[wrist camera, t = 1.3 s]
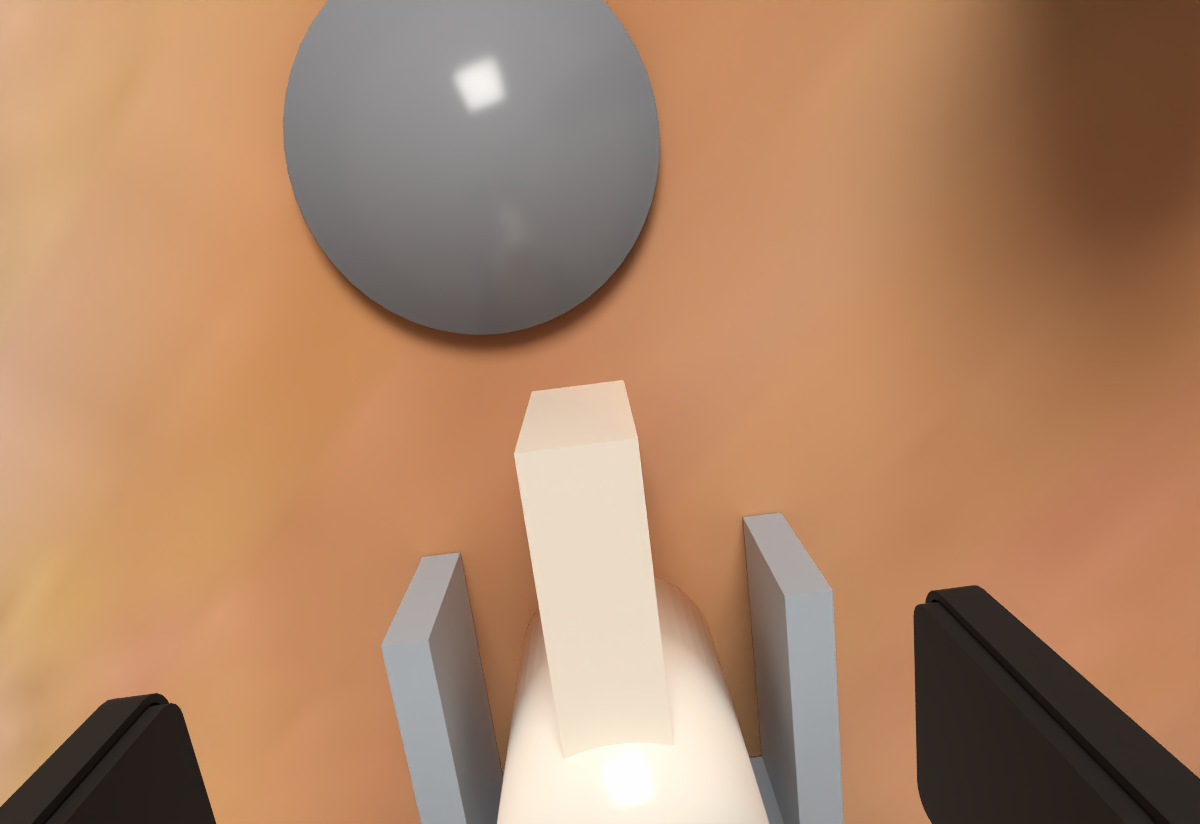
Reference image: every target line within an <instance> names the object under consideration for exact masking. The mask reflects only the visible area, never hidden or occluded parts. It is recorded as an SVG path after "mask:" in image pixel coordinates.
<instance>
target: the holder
mask: <svg viewBox="0 0 1200 824" xmlns="http://www.w3.org/2000/svg"><path fill="white" fill-rule="evenodd" d="M743 526H744V539H745V551H746V564H747V576H748V589H749V601H750V614H751V626H752V639H753V651H754V664H755V676H756V689H757V702H758V714H759V727H760V739H761V752H762V756H761V757H752V758H749V759H750V762H751V765H752V769H753V772H754V775H755V778H756V782H757V785H758V788H759V791H760V795H761V798H762V801H763V804H764V808H765V811H766V814H767V818H768V821H769V824H844V822H843V801H842V779H841V758H840V737H839V716H838V694H837V673H836V652H835V631H834V609H833V590H832V589H831V587H830V586H829V584H828V583H827V581H826V580H825V578H824V577H823V575H822V574H821V572H820V571H819V569H818V568H817V566H816V565H815V563H814V562H813V560H812V559H811V557H810V556H809V554H808V553H807V551H806V550H805V548H804V547H803V545H802V544H801V542H800V541H799V539H798V538H797V536H796V535H795V533H794V532H793V530H792V529H791V527H790V526H789V524H788V523H787V521H786V520H785V518H784V517H783V515H782V514H781V512H780V513H772V514H764V515H756V516H748V517H743ZM381 649H382V653H383V658H384V662H385V667H386V671H387V675H388V680H389V684H390V688H391V693H392V697H393V702H394V706H395V710H396V715H397V719H398V723H399V728H400V732H401V737H402V741H403V745H404V750H405V754H406V759H407V763H408V767H409V772H410V776H411V780H412V785H413V789H414V794H415V798H416V802H417V807H418V811H419V815H420V820H421V824H497V820H498V812H499V805H500V798H501V791H502V784H503V776H502V770H501V765H500V760H499V754H498V749H497V744H496V739H495V733H494V728H493V723H492V718H491V712H490V707H489V702H488V696H487V691H486V686H485V681H484V675H483V670H482V665H481V660H480V654H479V649H478V644H477V638H476V633H475V628H474V623H473V617H472V612H471V607H470V601H469V596H468V591H467V586H466V580H465V575H464V570H463V565H462V559H461V554H460V552H459V553H451V554H443V555H435V556H427V557H422V559H421V562H420V564H419V566H418V568H417V570H416V572H415V574H414V576H413V579H412V581H411V583H410V585H409V587H408V589H407V591H406V593H405V596H404V598H403V600H402V602H401V604H400V606H399V608H398V610H397V613H396V615H395V617H394V619H393V621H392V623H391V625H390V627H389V630H388V632H387V634H386V636H385V638H384V640H383V642H382V644H381Z"/></svg>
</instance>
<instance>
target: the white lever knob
mask: <svg viewBox="0 0 1200 824" xmlns="http://www.w3.org/2000/svg"><path fill="white" fill-rule="evenodd" d="M514 457H515V463H516V469H517V475H518V481H519V488H520V494H521V500H522V506H523V512H524V518H525V524H526V531H527V537H528V543H529V549H530V555H531V561H532V567H533V574H534V580H535V586H536V592H537V598H538V604H539V609H538V610H537V612H536V613H535V614H534V616H533V618H532V619H531V621H530V623H529V625H528V627H527V630H526V633H525V636H524V640H523V645H522V650H521V657H520V665H519V672H518V679H517V686H516V693H515V700H514V707H513V714H512V721H511V728H510V735H509V742H508V749H507V756H506V763H505V770H504V777H503V784H502V791H501V798H500V805H499V812H498V820H497V824H769V821H768V818H767V814H766V811H765V808H764V804H763V801H762V798H761V795H760V791H759V788H758V785H757V782H756V778H755V775H754V772H753V769H752V765H751V762H750V759H749V756H748V752H747V749H746V746H745V743H744V739H743V736H742V733H741V730H740V726H739V723H738V720H737V716H736V713H735V710H734V707H733V703H732V700H731V697H730V694H729V690H728V687H727V684H726V681H725V677H724V674H723V671H722V668H721V664H720V661H719V658H718V655H717V651H716V648H715V645H714V642H713V638H712V635H711V632H710V629H709V626H708V624H707V622H706V620H705V618H704V616H703V614H702V613H701V611H700V610H699V608H698V607H697V605H696V604H695V603H694V602H693V601H692V600H691V599H690V598H689V597H688V596H687V595H686V594H685V593H683V592H682V591H681V590H680V589H678V588H677V587H675V586H673V585H672V584H670V583H668V582H666V581H664V580H662V579H660V578H657V577H654V573H653V565H652V556H651V547H650V539H649V530H648V522H647V513H646V504H645V496H644V487H643V478H642V470H641V461H640V453H639V444H638V437H637V433H636V429H635V425H634V421H633V417H632V413H631V409H630V404H629V400H628V396H627V392H626V388H625V384H624V380H620V381H612V382H604V383H596V384H588V385H580V386H572V387H564V388H556V389H549V390H541V391H533V392H532V394H531V397H530V400H529V404H528V407H527V411H526V414H525V418H524V421H523V424H522V428H521V431H520V435H519V438H518V442H517V445H516V448H515V452H514Z"/></svg>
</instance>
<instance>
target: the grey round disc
mask: <svg viewBox="0 0 1200 824" xmlns="http://www.w3.org/2000/svg"><path fill="white" fill-rule="evenodd" d="M283 130H284V150H285V156H286V162H287V169H288V174H289V178H290V181H291V184H292V188H293V191H294V195H295V198H296V201H297V203H298V205H299V208H300V210H301V212H302V215H303V217H304V220H305V222H306V224H307V225H308V227H309V229H310V231H311V232H312V234H313V236H314V238H315V239H316V241H317V243H318V244H319V246H320V247H321V248H322V250H323V251H324V252H325V254H326V255H327V257H328V258H329V259H330V261H331V262H332V263H333V264H334V266H335V267H336V268H337V269H338V270H339V271H340V272H341V273H342V274H343V275H344V276H345V277H346V278H347V279H348V280H349V281H350V282H351V283H352V284H353V285H354V286H355V287H357V288H358V289H359V290H360V291H362V292H363V293H364V294H365V295H366V296H368V297H369V298H370V299H372V300H373V301H375V302H376V303H378V304H380V305H381V306H383V307H384V308H386V309H387V310H389V311H391V312H393V313H395V314H397V315H399V316H401V317H403V318H405V319H407V320H409V321H412V322H415V323H418V324H421V325H424V326H427V327H430V328H433V329H437V330H442V331H447V332H452V333H459V334H473V335H487V334H503V333H508V332H513V331H518V330H523V329H527V328H530V327H533V326H536V325H539V324H542V323H545V322H548V321H550V320H552V319H554V318H556V317H558V316H560V315H562V314H564V313H566V312H568V311H569V310H571V309H572V308H574V307H575V306H577V305H578V304H580V303H581V302H583V301H584V300H586V299H587V298H588V297H589V296H591V295H592V294H593V293H594V292H595V291H596V290H597V289H599V288H600V287H601V286H602V285H603V284H604V283H605V282H606V281H607V280H608V279H609V278H610V276H611V275H612V274H613V273H614V272H615V271H616V270H617V268H618V267H619V266H620V265H621V263H622V262H623V260H624V259H625V257H626V256H627V254H628V253H629V251H630V250H631V249H632V247H633V245H634V243H635V241H636V239H637V237H638V235H639V233H640V231H641V229H642V227H643V225H644V223H645V220H646V217H647V215H648V212H649V209H650V206H651V203H652V200H653V195H654V191H655V186H656V181H657V177H658V166H659V155H660V140H659V122H658V116H657V109H656V103H655V98H654V94H653V91H652V87H651V84H650V81H649V77H648V74H647V71H646V69H645V67H644V64H643V62H642V60H641V57H640V55H639V53H638V50H637V48H636V46H635V45H634V43H633V41H632V40H631V38H630V36H629V35H628V33H627V31H626V29H625V28H624V26H623V25H622V23H621V22H620V21H619V19H618V18H617V17H616V16H615V14H614V13H613V12H612V10H611V9H610V8H609V7H608V5H607V4H606V3H605V2H604V1H603V0H328V1H327V2H326V4H325V5H324V6H323V8H322V9H321V11H320V12H319V13H318V15H317V16H316V17H315V19H314V20H313V22H312V24H311V25H310V27H309V29H308V31H307V33H306V35H305V37H304V39H303V41H302V42H301V44H300V47H299V50H298V52H297V55H296V58H295V60H294V63H293V66H292V69H291V73H290V77H289V82H288V86H287V91H286V96H285V106H284V117H283Z"/></svg>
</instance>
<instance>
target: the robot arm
mask: <svg viewBox="0 0 1200 824" xmlns="http://www.w3.org/2000/svg"><path fill="white" fill-rule="evenodd" d="M914 655H915V701H916V746H917V783H918V790H919V795H920V798H921V802H922V805H923V807H924V810H925V812H926V814H927V816H928V818H929V819H930V821H931V823H932V824H1200V779H1199V778H1198V777H1197V776H1196V775H1195V774H1194V773H1193V772H1191V771H1190V770H1189V769H1188V768H1187V767H1186V766H1185V765H1183V764H1182V763H1181V762H1180V761H1179V760H1178V759H1177V758H1175V757H1174V756H1173V755H1172V754H1171V753H1170V752H1169V751H1167V750H1166V749H1165V748H1164V747H1163V746H1162V745H1161V744H1159V743H1158V742H1157V741H1156V740H1155V739H1154V738H1153V737H1151V736H1150V735H1149V734H1148V733H1147V732H1146V731H1145V730H1143V729H1142V728H1141V727H1140V726H1139V725H1138V724H1137V723H1135V722H1134V721H1133V720H1132V719H1131V718H1130V717H1129V716H1128V715H1126V714H1125V713H1124V712H1123V711H1122V710H1121V709H1120V708H1118V707H1117V706H1116V705H1115V704H1114V703H1113V702H1112V701H1110V700H1109V699H1108V698H1107V697H1106V696H1105V695H1104V694H1102V693H1101V692H1100V691H1099V690H1098V689H1097V688H1096V687H1094V686H1093V685H1092V684H1091V683H1090V682H1089V681H1088V680H1086V679H1085V678H1084V677H1083V676H1082V675H1081V674H1080V673H1078V672H1077V671H1076V670H1075V669H1074V668H1073V667H1072V666H1070V665H1069V664H1068V663H1067V662H1066V661H1065V660H1064V659H1062V658H1061V657H1060V656H1059V655H1058V654H1057V653H1056V652H1055V651H1053V650H1052V649H1051V648H1050V647H1049V646H1048V645H1047V644H1045V643H1044V642H1043V641H1042V640H1041V639H1040V638H1039V637H1037V636H1036V635H1035V634H1034V633H1033V632H1032V631H1031V630H1029V629H1028V628H1027V627H1026V626H1025V625H1024V624H1023V623H1021V622H1020V621H1019V620H1018V619H1017V618H1016V617H1015V616H1013V615H1012V614H1011V613H1010V612H1009V611H1008V610H1007V609H1005V608H1004V607H1003V606H1002V605H1001V604H1000V603H999V602H997V601H996V600H995V599H994V598H993V597H992V596H991V595H990V594H988V593H987V592H986V591H985V590H984V589H982V588H981V587H979V586H974V585H972V586H965V587H957V588H950V589H942V590H935V591H931V592H929V593H928V595H927V598H926V604H919V605H917V606H916V607H915V610H914ZM0 824H216V822H215V818H214V815H213V812H212V808H211V805H210V802H209V799H208V795H207V792H206V789H205V786H204V782H203V779H202V776H201V772H200V769H199V766H198V763H197V759H196V756H195V753H194V749H193V746H192V743H191V740H190V736H189V733H188V730H187V727H186V723H185V720H184V717H183V714H182V711H181V709H180V708H179V707H178V706H177V705H176V704H173V703H170V704H169V702H168V700H167V699H166V698H165V697H164V696H163V695H160V694H157V693H155V694H147V695H140V696H132V697H125V698H117V699H112V700H108V701H106V702H105V703H103V704H102V705H101V706H100V707H99V708H98V709H97V710H96V711H95V712H94V713H93V714H92V715H91V716H90V717H89V718H88V719H87V720H86V721H85V722H84V723H83V724H82V725H81V726H80V727H79V728H78V729H77V730H76V731H75V732H74V733H73V734H72V735H71V736H70V737H69V738H68V739H67V740H66V741H65V742H64V743H63V744H62V745H61V746H60V747H59V748H58V749H57V750H56V751H55V752H54V753H53V754H52V755H51V756H50V757H49V758H48V759H47V760H46V761H45V762H44V763H43V764H42V765H41V766H40V767H39V768H38V770H37V771H36V772H35V773H34V774H33V775H32V776H31V777H30V778H29V779H28V780H27V781H26V782H25V783H24V784H23V785H22V786H21V787H20V788H19V789H18V790H17V791H16V792H15V793H14V794H13V795H12V796H11V797H10V798H9V799H8V800H7V801H6V802H5V803H4V804H3V805H2V806H1V807H0Z"/></svg>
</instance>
